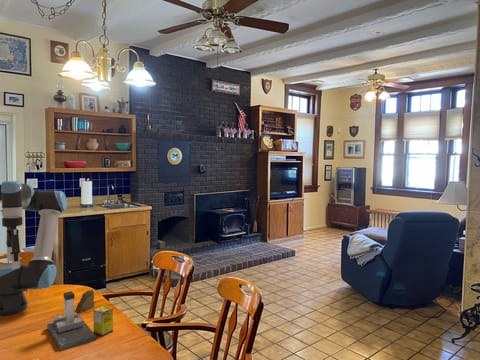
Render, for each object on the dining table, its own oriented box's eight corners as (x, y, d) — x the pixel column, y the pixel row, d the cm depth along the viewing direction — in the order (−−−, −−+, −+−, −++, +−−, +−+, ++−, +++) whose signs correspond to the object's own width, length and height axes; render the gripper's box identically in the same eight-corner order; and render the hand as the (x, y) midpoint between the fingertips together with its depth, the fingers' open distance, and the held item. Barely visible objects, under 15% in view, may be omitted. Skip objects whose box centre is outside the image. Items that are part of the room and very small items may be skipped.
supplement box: (113, 331, 163) (113, 307, 162) (102, 336, 157) (102, 312, 157) (104, 328, 166) (104, 304, 165) (93, 333, 160) (93, 309, 160)
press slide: (55, 328, 160) (55, 294, 159) (79, 322, 166) (79, 289, 165) (58, 332, 156) (58, 297, 155) (82, 326, 162) (82, 292, 161)
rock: (76, 311, 178) (97, 304, 183) (72, 294, 181) (93, 288, 187) (75, 317, 186) (95, 310, 191) (71, 301, 189) (91, 295, 195)
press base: (47, 328, 164) (46, 317, 164) (79, 320, 173) (79, 309, 173) (60, 350, 146) (60, 338, 146) (95, 339, 155) (95, 328, 155)
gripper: (-2, 213, 164) (-1, 259, 165) (5, 221, 145) (7, 273, 146) (17, 212, 169) (18, 257, 170) (27, 219, 150) (28, 270, 151)
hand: (13, 264), depth 158 cm, fingers open, 13 cm apart
